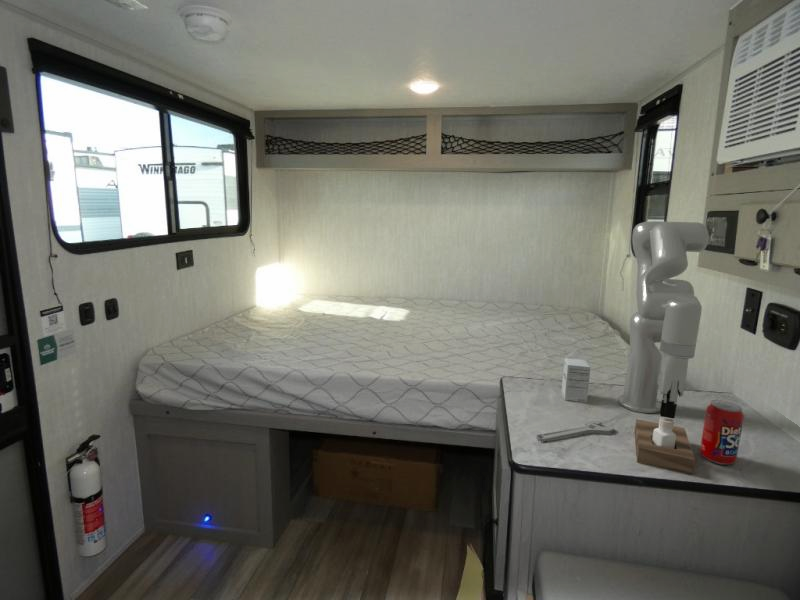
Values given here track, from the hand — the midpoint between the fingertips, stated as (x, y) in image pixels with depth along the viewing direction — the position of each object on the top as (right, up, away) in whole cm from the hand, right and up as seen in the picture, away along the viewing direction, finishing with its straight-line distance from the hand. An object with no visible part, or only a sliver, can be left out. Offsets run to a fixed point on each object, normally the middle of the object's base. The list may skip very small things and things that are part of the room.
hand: (667, 416), depth 118 cm
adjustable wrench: (-19, -9, +13) cm, 25 cm away
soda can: (+14, -12, +1) cm, 18 cm away
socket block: (+1, -10, +4) cm, 11 cm away
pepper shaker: (0, -10, +2) cm, 11 cm away
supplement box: (-9, -4, +38) cm, 40 cm away
